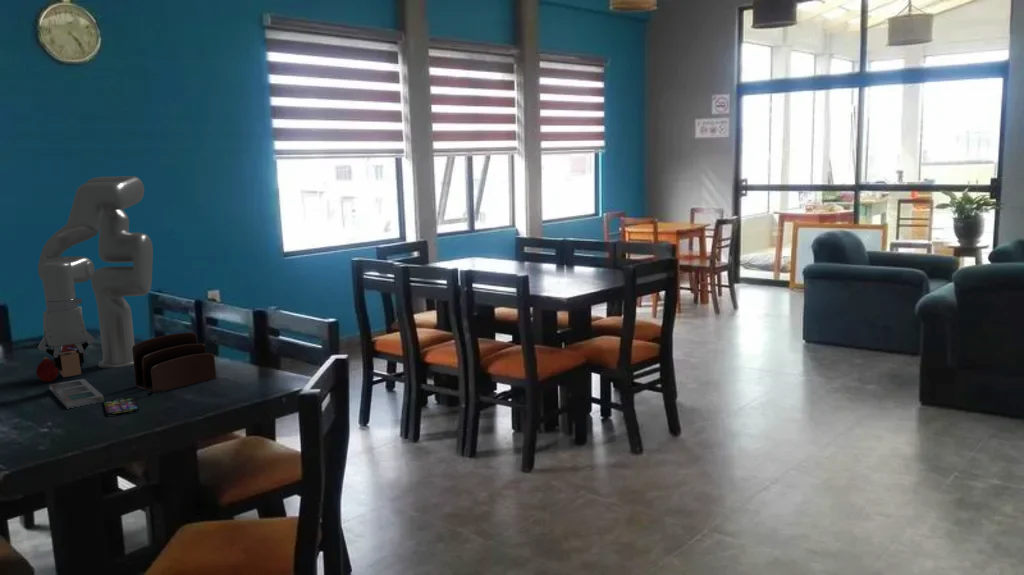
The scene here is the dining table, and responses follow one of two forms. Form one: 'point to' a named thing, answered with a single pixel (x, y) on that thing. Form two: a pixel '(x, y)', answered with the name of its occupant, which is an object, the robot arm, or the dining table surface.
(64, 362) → the brown rectangular block
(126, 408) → the smartphone
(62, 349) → the red box
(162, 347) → the letter holder
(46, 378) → the onion
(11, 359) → the dining table surface
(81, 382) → the pale grey slotted tray
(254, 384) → the dining table surface
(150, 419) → the dining table surface
